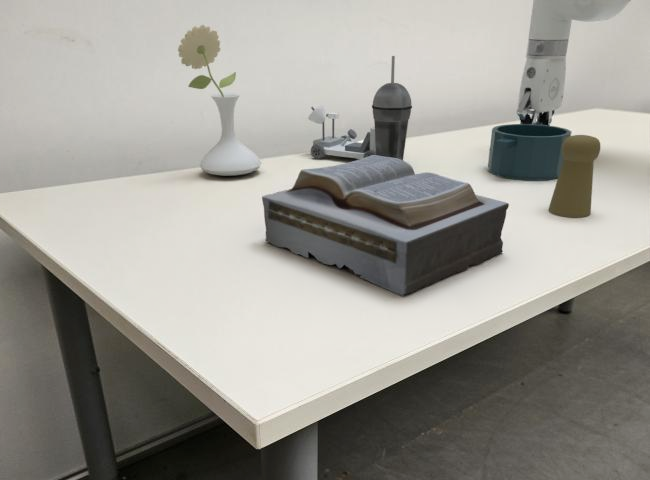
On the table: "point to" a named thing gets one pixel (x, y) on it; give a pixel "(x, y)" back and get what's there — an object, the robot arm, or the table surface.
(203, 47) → the flower in vase
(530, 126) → the pot
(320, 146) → the toy car
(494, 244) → the bible
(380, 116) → the beverage cup
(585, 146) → the cork
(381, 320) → the table surface
